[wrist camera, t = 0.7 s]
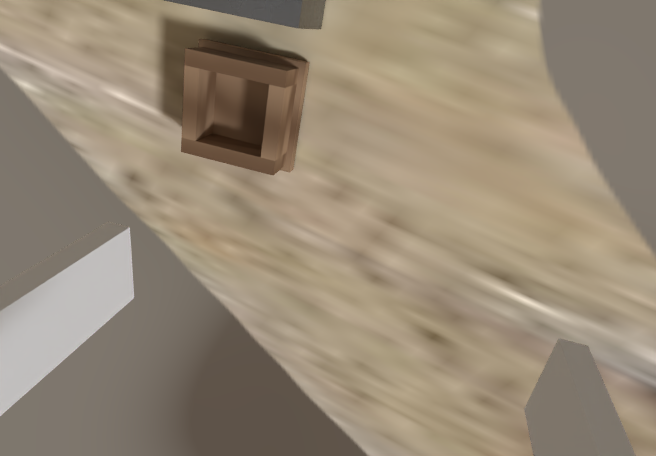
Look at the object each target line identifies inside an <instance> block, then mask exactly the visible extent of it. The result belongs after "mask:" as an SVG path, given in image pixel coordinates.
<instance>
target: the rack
mask: <svg viewBox="0 0 656 456" xmlns="http://www.w3.org/2000/svg"><path fill="white" fill-rule="evenodd" d="M309 63H310V62H307V61H302V60H298V59H293V58H289V57H284V56H280V55H275V54H270V53H266V52H261V51H257V50H252V49H248V48H243V47H238V46H234V45H229V44H225V43H220V42H215V41H211V40H206V39H199V47H198V48H185V62H184V89H183V116H182V142H181V152H184V153H188V154H192V155H196V156H200V157H203V158H207V159H211V160H215V161H219V162H223V163H227V164H231V165H235V166H238V167H242V168H246V169H250V170H254V171H258V172H262V173H266V174H270V175H274V174H275V173H277V172H278V171H279V170H282V171H286V172H291V171H292V170H293V167H294V161H295V154H296V147H297V141H298V134H299V128H300V121H301V115H302V108H303V102H304V95H305V89H306V82H307V76H308V69H309Z"/></svg>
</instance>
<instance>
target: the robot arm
mask: <svg viewBox="0 0 656 456" xmlns="http://www.w3.org/2000/svg"><path fill="white" fill-rule="evenodd" d="M133 298H134V287H133V271H132V256H131V240H130V227H127V226H123V225H119V224H115V223H111V222H107V223H105V224H104V225H102V226H100V227H98V228H97V229H95V230H94V231H92V232H90V233H88V234H87V235H85V236H83V237H82V238H80V239H78V240H77V241H75V242H73V243H71V244H70V245H68V246H66V247H65V248H63V249H61V250H60V251H58V252H56V253H55V254H53V255H51V256H50V257H48V258H46V259H44V260H43V261H41V262H39V263H38V264H36V265H34V266H32V267H31V268H29V269H28V270H26V271H24V272H22V273H21V274H19V275H17V276H16V277H14V278H12V279H10V280H9V281H7V282H6V283H4V284H2V285H0V416H1V415H2V414H3V413H4V412H5V411H6V410H8V408H10V407H11V406H12V405H13V404H14V403H15V402H17V401H18V400H19V399H20V398H21V397H22V396H23V395H25V394H26V393H27V392H28V391H29V390H30V389H31V388H32V387H34V386H35V385H36V384H37V383H38V382H39V381H40V380H41V379H43V378H44V377H45V376H46V375H47V374H48V373H49V372H51V371H52V370H53V369H54V368H55V367H56V366H57V365H58V364H60V363H61V362H62V361H63V360H64V359H65V358H66V357H68V356H69V355H70V354H71V353H72V352H73V351H74V350H76V349H77V348H78V347H79V346H80V345H81V344H82V343H83V342H85V341H86V340H87V339H88V338H89V337H90V336H91V335H92V334H94V333H95V332H96V331H97V330H98V329H99V328H100V327H102V326H103V325H104V324H105V323H106V322H107V321H108V320H109V319H111V318H112V317H113V316H114V315H115V314H116V313H117V312H119V311H120V310H121V309H122V308H123V307H124V306H125V305H126V304H127V303H128V302H130V301H131V300H132V299H133ZM524 410H525V415H526V420H527V425H528V430H529V435H530V440H531V445H532V450H533V455H534V456H636V455H635V453H634V451H633V448H632V446H631V444H630V442H629V439H628V437H627V435H626V432H625V430H624V428H623V425H622V423H621V421H620V418H619V416H618V414H617V412H616V409H615V407H614V405H613V402H612V400H611V398H610V395H609V393H608V391H607V389H606V386H605V384H604V382H603V379H602V377H601V375H600V372H599V370H598V368H597V366H596V363H595V361H594V359H593V356H592V354H591V352H590V349H589V347H588V346H586V345H582V344H578V343H575V342H571V341H567V340H563V339H558V341H557V343H556V345H555V347H554V349H553V351H552V353H551V355H550V357H549V359H548V361H547V363H546V365H545V368H544V370H543V372H542V374H541V376H540V378H539V380H538V382H537V384H536V386H535V388H534V390H533V392H532V394H531V396H530V398H529V400H528V402H527V405H526V407H525V409H524Z"/></svg>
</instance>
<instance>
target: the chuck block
mask: <svg viewBox="0 0 656 456" xmlns="http://www.w3.org/2000/svg"><path fill="white" fill-rule="evenodd" d="M165 1H169V2H174V3H179V4H184V5H189V6H193V7H198V8H203V9H208V10H213V11H217V12H222V13H227V14H232V15H237V16H241V17H246V18H251V19H256V20H261V21H265V22H270V23H275V24H280V25H285V26H289V27H294V28H301V29H321V26H322V20H323V14H324V7H325V1H326V0H165Z"/></svg>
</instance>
